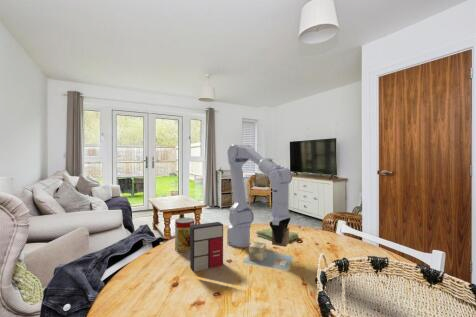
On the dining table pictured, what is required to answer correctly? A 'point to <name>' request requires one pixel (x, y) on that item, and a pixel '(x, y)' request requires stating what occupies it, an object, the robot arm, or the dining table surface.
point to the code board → (273, 261)
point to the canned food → (183, 234)
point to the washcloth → (268, 234)
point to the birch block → (257, 251)
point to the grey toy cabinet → (206, 246)
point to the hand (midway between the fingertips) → (280, 240)
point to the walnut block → (284, 240)
